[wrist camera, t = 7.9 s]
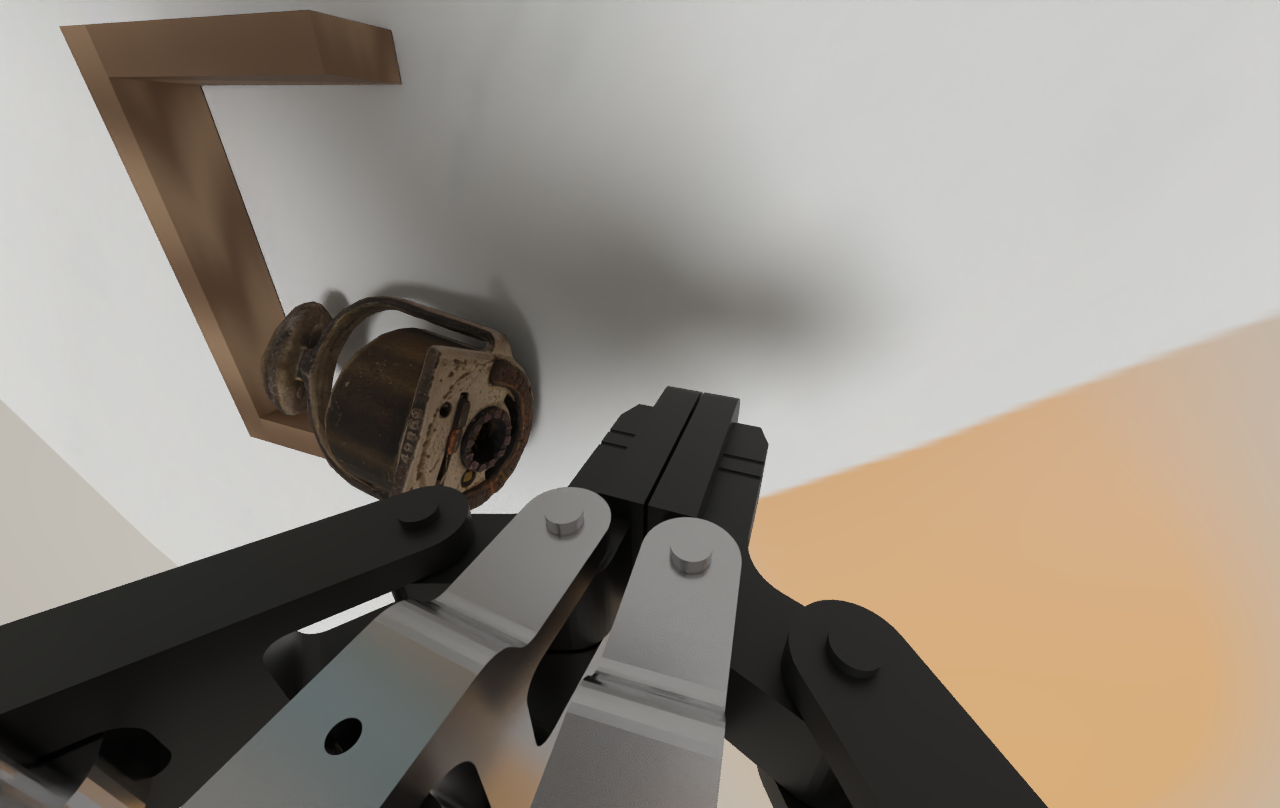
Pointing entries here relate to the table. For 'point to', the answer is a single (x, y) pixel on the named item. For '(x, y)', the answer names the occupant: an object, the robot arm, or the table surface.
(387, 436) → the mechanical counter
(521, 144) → the table surface
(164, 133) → the bracket
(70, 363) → the table surface
